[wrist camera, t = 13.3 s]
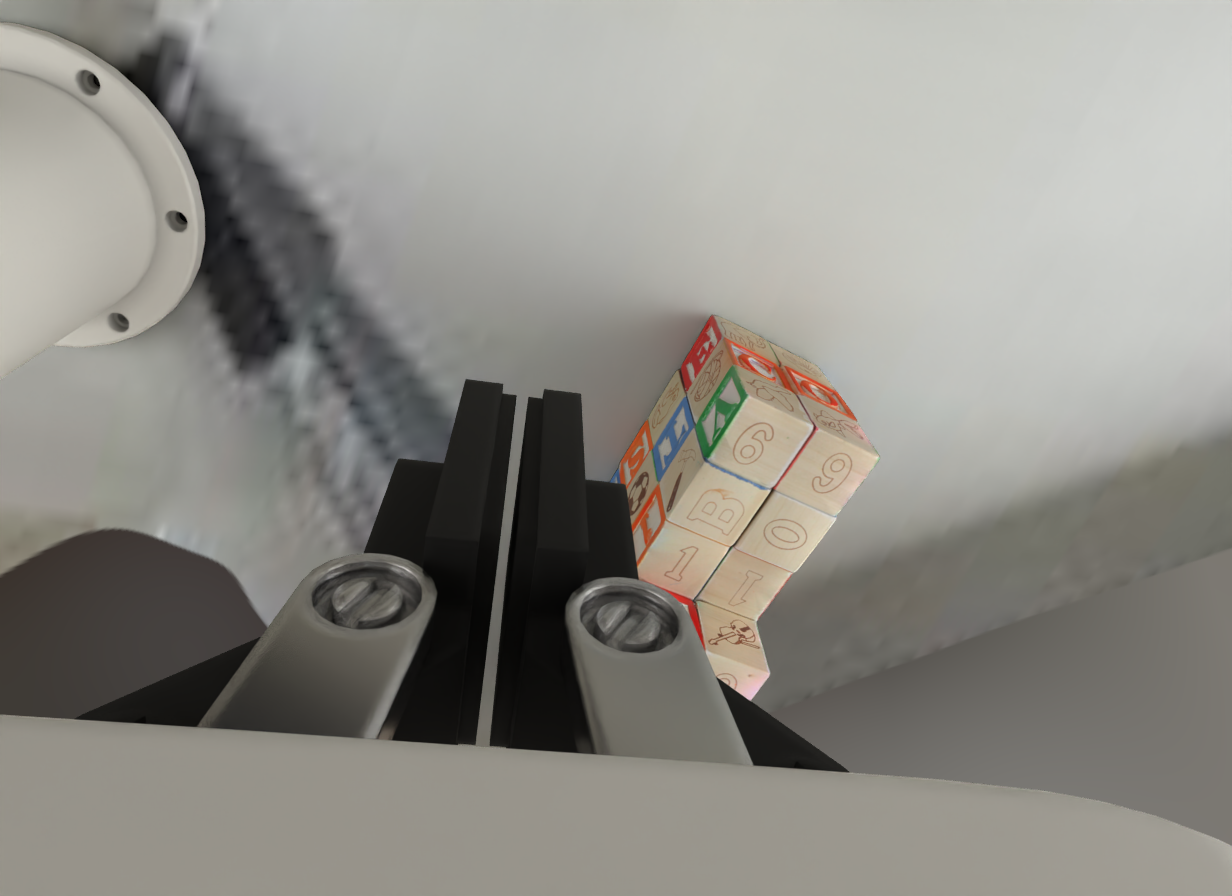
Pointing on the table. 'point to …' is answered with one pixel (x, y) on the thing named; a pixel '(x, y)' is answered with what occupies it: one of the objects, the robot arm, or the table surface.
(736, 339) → the stack of blocks
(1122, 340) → the table surface
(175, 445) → the table surface
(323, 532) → the table surface
